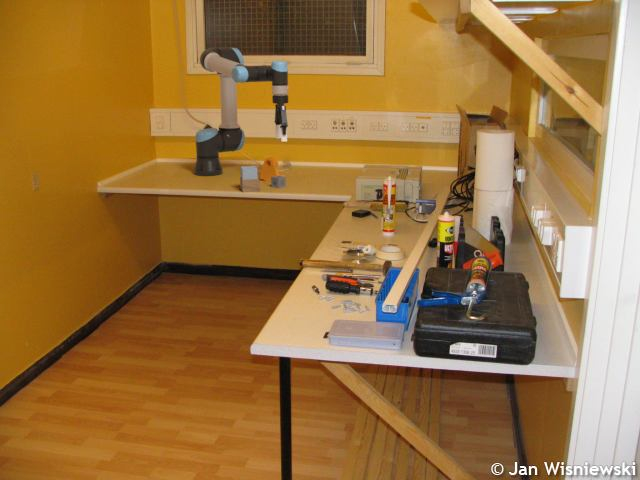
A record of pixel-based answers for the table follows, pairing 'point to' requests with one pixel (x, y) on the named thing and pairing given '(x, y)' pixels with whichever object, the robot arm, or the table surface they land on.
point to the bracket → (269, 169)
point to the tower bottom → (249, 185)
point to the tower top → (249, 172)
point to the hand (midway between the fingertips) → (281, 139)
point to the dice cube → (278, 181)
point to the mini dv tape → (425, 206)
